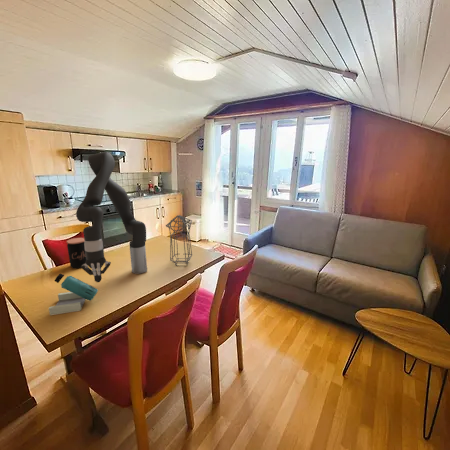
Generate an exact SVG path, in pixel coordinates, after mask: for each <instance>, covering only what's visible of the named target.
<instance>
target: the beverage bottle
mask: <svg viewBox="0 0 450 450" xmlns="http://www.w3.org/2000/svg"><path fill="white" fill-rule="evenodd" d="M64 277H65V274H62V273H59V274H58V275H57V276H56V277H55V278H54V282H56V283H57V284H59V283H60V281H61V280H62V279H63V278H64ZM60 286H61V288H62V289H65V290H67V291H68V292H72V293H74V294H76V295H78V296H80V297H82V298H85V299H86V300H87V301H90V302H92V300H93V299H94V298H95V296H96V295H97V293H98V292H99V289H98V288H96V287H94V286H93V285H90V284H88V283H87V282H84V281H83V280H80V279H79V278H76V277H74V276H73V275H68V276H66V278H65V279H64V280H63V281H62V282H61V284H60Z"/></svg>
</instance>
